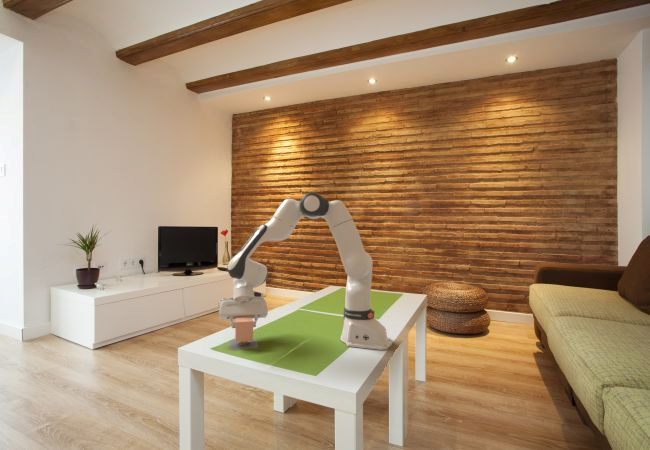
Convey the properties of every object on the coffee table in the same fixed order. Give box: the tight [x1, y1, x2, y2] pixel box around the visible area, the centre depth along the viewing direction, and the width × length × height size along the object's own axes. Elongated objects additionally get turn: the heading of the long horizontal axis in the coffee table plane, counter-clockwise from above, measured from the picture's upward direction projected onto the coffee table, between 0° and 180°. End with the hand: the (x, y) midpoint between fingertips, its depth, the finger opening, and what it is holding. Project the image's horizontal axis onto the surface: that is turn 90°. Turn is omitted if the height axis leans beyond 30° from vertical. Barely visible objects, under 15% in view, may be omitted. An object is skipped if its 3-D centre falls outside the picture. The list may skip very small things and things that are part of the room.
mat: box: [229, 338, 260, 351], centre depth 144 cm, size 11×11×1 cm
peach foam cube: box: [234, 317, 254, 342], centre depth 144 cm, size 7×7×8 cm
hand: (243, 327), depth 145 cm, fingers closed on peach foam cube, 7 cm apart
